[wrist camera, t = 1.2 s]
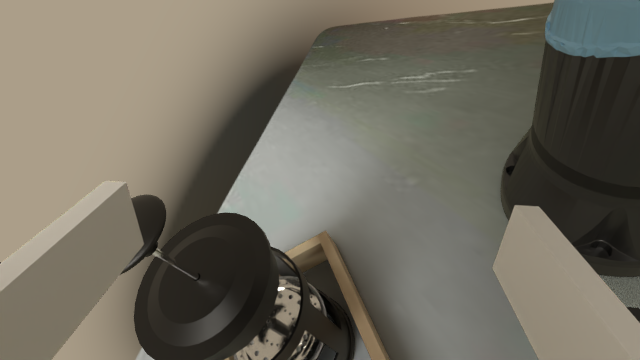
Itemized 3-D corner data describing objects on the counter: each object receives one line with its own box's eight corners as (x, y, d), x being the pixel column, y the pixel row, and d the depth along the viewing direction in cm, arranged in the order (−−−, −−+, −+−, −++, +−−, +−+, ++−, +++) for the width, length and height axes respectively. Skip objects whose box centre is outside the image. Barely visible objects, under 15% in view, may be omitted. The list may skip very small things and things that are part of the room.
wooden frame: (336, 245, 38) (325, 230, 35) (416, 415, 27) (410, 412, 24) (227, 304, 38) (209, 293, 35) (261, 496, 27) (239, 501, 24)
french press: (276, 285, 37) (107, 147, 20) (360, 290, 34) (243, 129, 17) (244, 415, 31) (-46, 374, 14) (344, 438, 27) (124, 422, 10)
